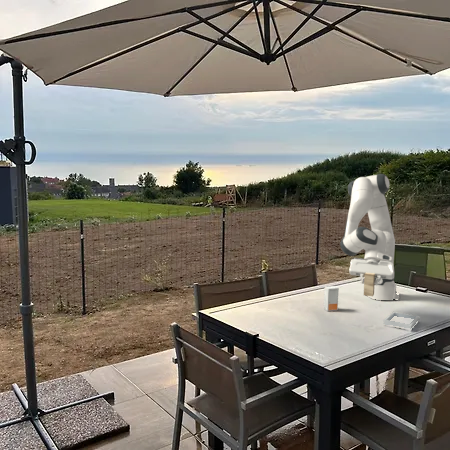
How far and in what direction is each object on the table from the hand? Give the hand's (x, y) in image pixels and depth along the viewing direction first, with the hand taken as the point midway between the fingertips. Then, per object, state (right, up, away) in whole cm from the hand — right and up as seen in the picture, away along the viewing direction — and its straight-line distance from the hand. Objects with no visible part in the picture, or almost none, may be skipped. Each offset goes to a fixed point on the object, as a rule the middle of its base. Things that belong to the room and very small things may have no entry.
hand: (369, 283), depth 194 cm
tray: (+16, -19, +3) cm, 25 cm away
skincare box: (-12, -17, +24) cm, 31 cm away
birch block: (0, -5, +1) cm, 5 cm away
